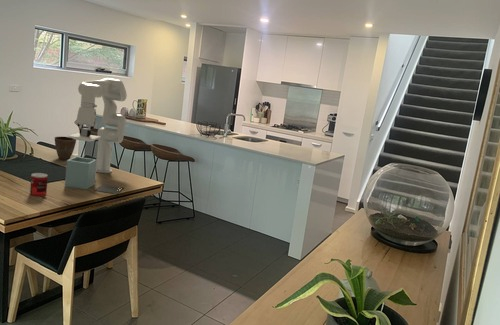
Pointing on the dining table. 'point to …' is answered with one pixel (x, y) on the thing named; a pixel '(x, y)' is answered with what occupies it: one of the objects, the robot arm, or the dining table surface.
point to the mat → (108, 189)
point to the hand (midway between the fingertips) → (85, 135)
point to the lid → (84, 136)
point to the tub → (80, 172)
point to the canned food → (38, 184)
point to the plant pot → (64, 147)
